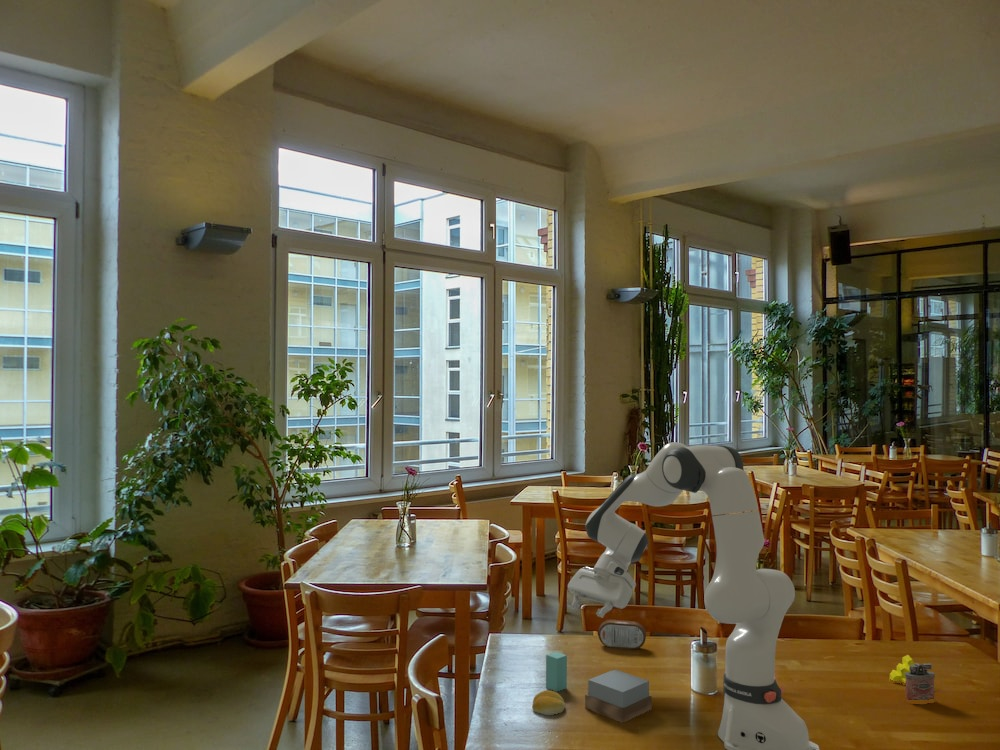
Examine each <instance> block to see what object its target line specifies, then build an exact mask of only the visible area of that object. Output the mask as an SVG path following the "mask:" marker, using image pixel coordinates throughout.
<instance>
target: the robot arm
mask: <svg viewBox="0 0 1000 750" xmlns="http://www.w3.org/2000/svg"><path fill="white" fill-rule="evenodd" d="M683 491H686V492H690V493H694V494H696V493H698V492H699V491H702V492H703V493H705V495H706V496H707V497H708V500H709V506H710V513H711V518H712V525H713V531H714V538H715V545H716V558H715V566H714V571H713V575H712V578H711V580H710V582H709V583H708V585H707V586H706V588H705V591H704V595H703V596H704V598H703V599H704V600H703V601H704V606H705V608H706V611H707V613H708V614H709V615H710V617H711V618H712V619H713V620H715V621H716V622H719V623H721V624H728V625H729V624H731V625H734V624H735V627H734V629H733V630H732V631H731V634H729V636H728V637H727V639H726V643H725V672H724V674H723V681H722V682H723V683H722V684H723V688H722V690H723V696H724V699H723V700H724V701H723V709H722V714H721V715H722V716H721V720H720V725H719V728H718V731H717V736H718V737H719V739H720V740H721V741H722V742H723V746H724V749H726V750H820V747H819V745H818V744H817V743H815V742H813V741H811V740H810V737H809V736H810V735H809V730H808V727H807V724H806V722H805V721H804V720H803V718H801V716H800V715H798V713H796V712H795V710H793V708H792V707H791V706H790V705H789V704H788V703H787V702H786V701H785V700H784V699H783V698H782V697H783V696H782V693H783V692H785V691H786V690H785V688H786V686H785V685H783V686H782V687H780V686H779V685H778V683H777V680H776V679H775V665H776V663H775V662H776V649H777V648H776V647H777V641H778V636H779V633H780V630H781V627H782V623H783V620H784V619H785V615H786V613H787V611H788V610H789V608H790V607H791V606H792V604H793V602H795V597H796V590H795V585H794V583H793V581H792V580H791V577H790V576H788V574H787V573H785V572H784V571H781V570H778V569H773V568H758V569H757V566H758V565H757V563H758V558H759V555H760V552H761V551H762V549H763V548H764V545H765V535H764V531H763V526H762V521H761V515H760V510H759V506H758V501H757V497H756V494H755V491H754V488H753V485H752V482H751V480H750V477H749V474H748V473H747V472H746V471H744V461H743V458H742V456H741V454H740V453H739V451H737V449H736V448H733V447H731V446H728V445H722V444H721V445H705V444H704V445H703V444H699V445H698V444H697V445H691V446H687V445H686V444H684V443H683V442H682V443H681V442H676V441H675V442H673V441H672V442H668V443H666V444H665V445H664V446H662V448H661V449H660V450H659V451H658V452H657V453H656V455H655V456H654V457H653V458H652V460H651V461H650V463H649V464H648V466H647V468H646V469H645V470H644V471H642V472H640V473H636V474H634V473H631V474H630V475H628V476H627V477H625V478H624V479H623V480H622V481H621V482H620V484H619V485H617V487H616V488H615V489H614V490H613V491H612V492H611V493H610V494H609V495H608V497H607V498H606V499H605V500H604V501H603V502H602V503H601V504H600V505H599V506H598V507H597V508H596V509H594V510H593V511H592V512H590V514H589V516H588V517H587V519H586V521H585V525H584V527H585V531H586V534H587V536H588V538H589V539H591V540H593V541H595V542H597V543H599V544H602V545H603V546H604V547H606V548H605V550H604V552H602V554H601V555H600V556H599V557H598V560H596V561H597V562H596V563H595V565H594V567H589V566H584V567H581V568H580V569H579V570H578V571H576V573H575V574H573V576H572V578H571V579H570V580H569V582H568V583H567V590H568V591H569V592H570V594H571V595H572V597H573V599H572V600H573V601H572V603H571V604H570V606H571V609H572V610H576V611H578V610H579V608H580V606H581V605H580V604H579V602H580V600H582V598H583V599H586V600H589V601H593V602H597V603H601V604H603V605H604V606H603V607H601V608H597V611H596V613H595V615H596V616H597V617H599V618H601V619H603V618H604V617H605V615H606V614H607V613H608V612H610V611H611V610H612V609H613V607H614V608H617V609H621V610H622V609H624V608H626V607H627V605H628V603H629V602H630V600H631V598H632V596H633V590H634V589H635V588H636V587H637V583H636V582H635V580H634V578H633V577H632V575H631V574H630V573H629V572H628V569H629V566H630V565H631V563H636V562H638V561H641V558H642V556H643V553H644V551H645V550H646V549H647V548H648V546H649V544H650V541H649V538H648V535H647V532H646V531H645V530H643V529H642V528H640V527H639V526H638V525H636V524H634V523H633V522H630V521H628V520H627V519H625V518H623V517H622V516H620V515H619V514H617V513H616V511H617V509H619V507H620V506H622V504H623V503H625V502H635V503H640V504H644V505H647V506H651V507H664V506H665V507H666V506H669V505H671V504H673V503H674V502H675V501H676V500H677V498H679V496H680V495H681V494H682V492H683Z"/></svg>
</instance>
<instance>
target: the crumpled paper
mask: <svg viewBox="0 0 1000 750" xmlns="http://www.w3.org/2000/svg"><path fill="white" fill-rule="evenodd" d="M901 660H902V663H900V662H899V663H898V664H897V665H896V670H895V669H892V670H891V672H890V673H889V680H890V679H891V680H893V681H899V680H900V681H902V682H904V683H906V677H905V673H906V672H910V665H914V664H915V663H916V662H914V660H913V658H912V657H911V656H910V655H909V654H906V655H904V656H903V657H902V659H901Z"/></svg>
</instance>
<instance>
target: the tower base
mask: <svg viewBox="0 0 1000 750" xmlns="http://www.w3.org/2000/svg"><path fill="white" fill-rule="evenodd" d="M652 698H653V697H652V695H649V697H647V698H645V699H643V700H640V701H638V702H636V703H634V704H632V705H630V706H627V707H625V708H620V707H617V706H615V705H612V704H609V703H607V702H604V701H602V700H599V699H596V698H594V697H591V696H588V693H585V695H584V708H585V709H586V708H587V710H589V709H590V711H591V710H592V711H591V712H594V713H596V714H598V713H599V715H601V716H603V717H606V718H608V717H609V718H608V719H610V720H613V719H614V720H613V721H616V722H618V721H619V723H620V722H621V723H620V724H623V722H624V723H625V721H626V722H628V721H631V720H632V718H633V719H635V718H637V717H639V716H641V715H644V714H645V712H646V713H648V712H650V711H652V708H653V707H652V703H653V702H652V701H653V699H652ZM649 710H650V711H649ZM647 711H648V712H647ZM640 714H641V715H640ZM638 715H639V716H638ZM636 716H637V717H636ZM634 717H635V718H634ZM627 720H628V721H627Z"/></svg>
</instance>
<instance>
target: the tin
mask: <svg viewBox="0 0 1000 750" xmlns="http://www.w3.org/2000/svg"><path fill="white" fill-rule="evenodd" d="M597 636H598V639H599V641H600V643H601V644H602V645H603V646H605V647H607V648H611V649H625V650H627V649H628V650H638V649H640V648H641V647H642V646H644V644H645V642H646V638H647V632H646V629H645V627H644V626H643V625H642V624H641V623H639V622H638V621H633V620H619V619H605V620H604V621H603V622H601V624H600V625H599V626H598V635H597Z"/></svg>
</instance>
